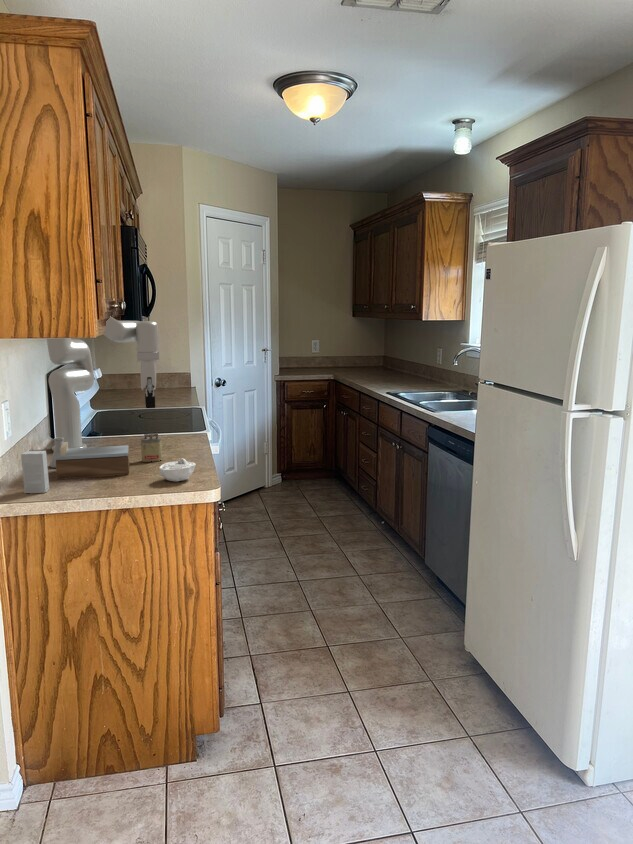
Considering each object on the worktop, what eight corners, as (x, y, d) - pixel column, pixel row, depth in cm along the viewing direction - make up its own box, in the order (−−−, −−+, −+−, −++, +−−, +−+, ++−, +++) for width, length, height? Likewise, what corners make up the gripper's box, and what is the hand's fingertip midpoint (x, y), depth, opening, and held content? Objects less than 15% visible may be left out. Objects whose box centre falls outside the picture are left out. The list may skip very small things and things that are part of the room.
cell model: (152, 481, 196) (151, 460, 194) (183, 474, 205) (182, 454, 204) (172, 487, 189) (171, 465, 188) (202, 479, 198) (202, 458, 197)
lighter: (141, 462, 221) (140, 435, 219) (141, 460, 225) (140, 433, 223) (162, 461, 223) (161, 434, 221) (161, 459, 226) (160, 432, 225)
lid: (60, 451, 209) (59, 441, 209) (128, 448, 215) (128, 438, 214) (55, 460, 197) (54, 449, 196) (128, 455, 203) (127, 445, 202)
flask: (65, 462, 221) (63, 435, 219) (75, 465, 216) (74, 437, 214) (45, 466, 215) (43, 438, 213) (56, 469, 211) (54, 440, 209)
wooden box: (61, 469, 210) (60, 452, 209) (129, 465, 216) (128, 448, 215) (57, 479, 198) (55, 461, 197) (129, 474, 204) (128, 456, 203)
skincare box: (49, 489, 186) (46, 450, 184) (45, 493, 182) (42, 453, 180) (28, 490, 186) (25, 450, 184) (23, 494, 181) (20, 454, 179)
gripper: (137, 355, 225) (139, 403, 227) (137, 358, 208) (139, 410, 211) (158, 355, 227) (160, 402, 229) (160, 358, 210) (162, 409, 213)
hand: (150, 406), depth 220 cm, fingers open, 8 cm apart
